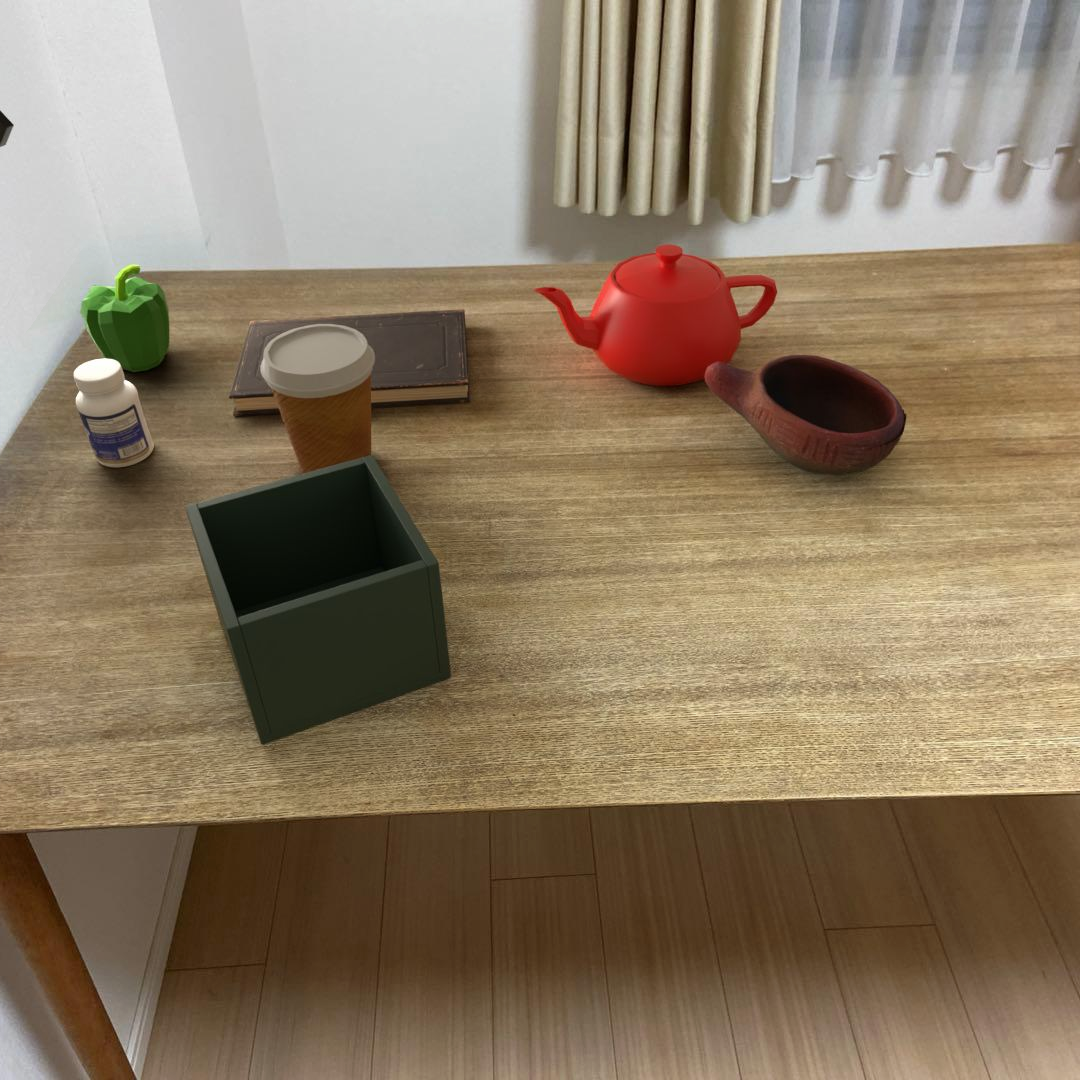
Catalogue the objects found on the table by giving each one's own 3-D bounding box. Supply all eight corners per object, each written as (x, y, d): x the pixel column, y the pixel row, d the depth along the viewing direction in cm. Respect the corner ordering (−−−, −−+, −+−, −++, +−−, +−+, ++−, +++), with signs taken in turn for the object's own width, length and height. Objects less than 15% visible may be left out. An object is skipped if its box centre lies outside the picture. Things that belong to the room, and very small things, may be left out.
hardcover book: (469, 402, 100) (468, 382, 99) (233, 416, 99) (228, 396, 98) (465, 325, 113) (464, 306, 111) (255, 337, 111) (251, 318, 110)
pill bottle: (102, 439, 96) (73, 356, 91) (159, 434, 97) (133, 352, 91) (90, 471, 92) (58, 387, 87) (149, 467, 93) (121, 382, 87)
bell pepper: (109, 389, 103) (79, 298, 97) (92, 355, 109) (62, 267, 103) (191, 366, 107) (167, 277, 100) (170, 334, 112) (146, 248, 106)
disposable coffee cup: (377, 428, 97) (361, 313, 89) (399, 484, 90) (383, 365, 82) (277, 447, 95) (251, 331, 87) (290, 507, 88) (264, 386, 80)
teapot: (743, 314, 113) (755, 207, 105) (796, 385, 101) (815, 271, 94) (522, 339, 110) (518, 230, 102) (551, 415, 98) (549, 299, 90)
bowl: (854, 410, 98) (870, 335, 93) (917, 488, 88) (938, 409, 83) (693, 430, 96) (700, 355, 91) (739, 512, 86) (750, 433, 81)
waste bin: (261, 745, 68) (226, 629, 61) (219, 617, 77) (184, 505, 70) (451, 677, 72) (438, 562, 65) (389, 565, 82) (372, 454, 75)
